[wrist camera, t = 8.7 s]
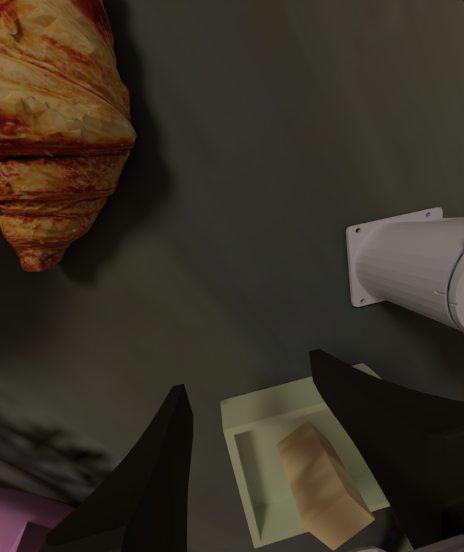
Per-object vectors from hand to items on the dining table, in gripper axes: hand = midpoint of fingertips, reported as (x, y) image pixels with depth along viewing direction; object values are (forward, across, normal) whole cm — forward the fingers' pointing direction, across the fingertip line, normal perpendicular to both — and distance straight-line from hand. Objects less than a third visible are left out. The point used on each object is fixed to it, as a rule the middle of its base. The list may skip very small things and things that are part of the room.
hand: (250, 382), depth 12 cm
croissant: (+10, +8, -18) cm, 22 cm away
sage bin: (+9, -5, +17) cm, 20 cm away
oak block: (+9, -5, +17) cm, 20 cm away
